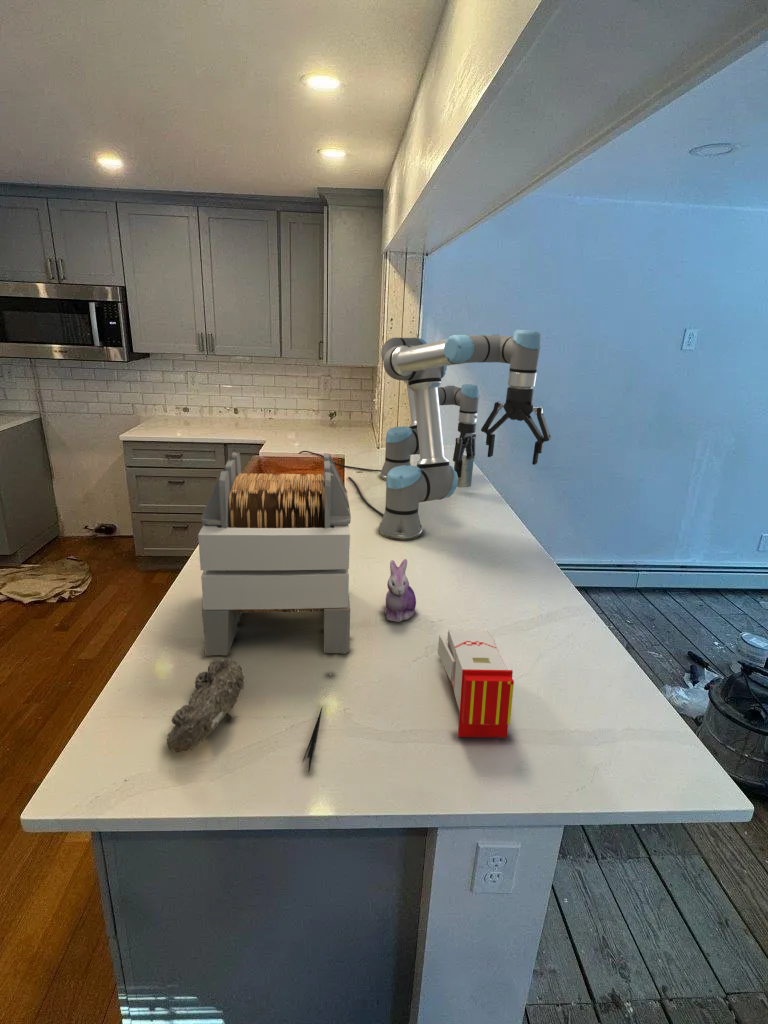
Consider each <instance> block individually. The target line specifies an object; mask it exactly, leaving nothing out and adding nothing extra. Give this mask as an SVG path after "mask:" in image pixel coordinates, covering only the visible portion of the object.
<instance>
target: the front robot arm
mask: <svg viewBox="0 0 768 1024" xmlns="http://www.w3.org/2000/svg"><path fill="white" fill-rule="evenodd" d="M541 340H542V334H541V332H540V331H539V330H530V329H515V330H514V331H513V335H512V336H509V335H501V334H483V335H482V334H478V335H477V334H464V333H463V334H462V333H461V334H453V335H450V336H449V337H448V338H446V339H440V340H437V341H433V342H428V343H427V344H423V345H419V346H396V347H393V348H391V349H390V350H388V352H387V353H386V354H385V356H384V360H382V361H383V362H382V363H383V365H382V366H383V369H384V371H385V373H386V374H387V375H388V376H389V377H390V378H392V379H393V380H396V381H403V382H404V381H407V380H408V385H409V388H410V389H412V390H413V392H414V401H415V411H416V421H417V431H418V440H419V450H420V454H419V460H418V462H417V463H416V465H412V464H411V465H408V466H406V465H403V466H398V467H395V468H392V469H391V470H390V471H389V472H388V474H387V480H385V504H384V505H385V507H384V508H385V509H384V513H382V512H381V511H380V510H378V509H377V508H375V507H374V506H373V505H371V504H370V503H369V502H368V501H367V500H366V499H365V497H364V496H363V494H362V492H361V491H360V489H359V486H358V485H357V483H356V482H355V481H354V480H353V478H352V477H350V476H348V479H349V480H350V481H351V482H352V483H353V485H354V486H355V488H356V490H357V492H358V494H359V496H360V498H361V500H363V502H364V503H365V504H366V505H367V506H368V507H369V508H371V509H372V510H373V511H375V512H376V513H377V514H379V515H380V516H381V517H382V519H381V522H379V525H378V533H379V534H380V535H381V536H382V537H385V538H387V539H389V540H395V541H410V540H415V539H418V538H420V537H421V536H422V535H423V525H422V524H421V518H420V515H419V507H420V506H419V505H420V503H426V502H432V501H437V500H439V501H441V500H444V499H446V498H450V497H451V496H453V495H454V493H455V492H456V490H457V488H458V487H457V484H458V476H457V472H456V471H455V469H454V466H452V465H451V464H450V460H449V459H448V457H445V448H444V439H443V431H442V430H443V427H442V418H441V407H440V405H439V397H438V387H441V385H442V379H443V378H444V377H445V375H446V372H447V369H448V366H455V365H462V364H463V365H464V364H468V363H469V364H470V363H472V364H473V363H478V364H479V363H500V364H509V371H508V379H507V385H508V387H507V389H506V396H505V397H506V398H505V403H504V402H501V401H500V400H498V401H495V402H494V403H493V408H492V410H491V412H490V414H489V416H488V417H487V419H486V420H485V422H484V423H483V425H482V427H481V429H480V432H482V433H484V434H485V435H486V436H485V437H486V438H485V445H486V446H487V447H488V448H487V458H492V457H493V456H494V450H495V439H496V434H495V433H494V432H495V431H496V430H498V429H499V428H500V427H501V426H502V425H503V424H504V423H505V422H506V421H507V420H508V419H509V420H511V421H519V422H522V421H524V423H525V424H527V426H528V428H529V429H530V431H531V432H532V434H533V436H534V438H535V439H536V441H535V442H534V448H533V455H532V463H531V465H533V466H536V465H537V464H538V459H539V454H542V452H543V451H544V445H545V442H549V441H551V439H552V436H551V434H550V433H551V432H550V431H549V430H550V429H549V427H548V424H547V422H546V421H547V420H546V418H545V415H544V406H542V405H540V406H534V405H533V404H534V396H535V395H534V394H535V389H534V387H535V386H536V380H537V373H538V364H539V356H540V351H541V347H542V346H541ZM501 410H504V411H505V413H504V414H503V415H502V416H501V417H500V418H499V419H498V420H497V421H496V422H495V423H494V424H493V425H492V423H493V422H494V420H495V418H496V417H497V415H498V414H499V412H500V411H501ZM533 412H534V415H535V416H536V418H537V421H538V424H539V427H540V429H539V428H538V426H537V424H536V423H535V421H534V419H533V417H532V416H531V414H532V413H533ZM491 425H492V426H491ZM540 430H541V431H540Z"/></svg>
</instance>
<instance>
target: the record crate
mask: <svg viewBox="0 0 768 1024" xmlns="http://www.w3.org/2000/svg"><path fill="white" fill-rule="evenodd" d="M323 456H324V458H323V473H322V474H321V473H318V474H316V475H315V474H314V473H306V474H303V475H302V474H301V473H280V474H273V473H244V472H243V473H242V466H241V463H242V462H241V453H240V452H235V451H233V452H231V455H230V457H229V459H227V460H226V463H225V466H224V468H223V470H222V471H220V474H219V475H218V477H217V479H216V482H215V483H214V486H213V489H212V491H211V494H210V495H209V498H208V499H207V502H206V505H205V507H204V509H203V511H202V514H201V517H200V520H201V524H202V527H201V529H200V530H199V532H198V535H197V538H198V550H199V552H198V553H199V563H200V565H199V567H200V571H202V573H201V575H200V580H201V581H200V582H201V594H202V605H203V607H202V609H201V610H202V611H201V617H202V629H203V638H204V639H203V640H204V649H205V650H204V651H205V652H204V655H205V656H206V657H212V656H228V654H229V652H230V650H231V647H232V645H233V643H234V640H235V638H236V635H237V632H238V623H240V620H241V617H242V614H244V613H250V614H251V613H253V614H254V613H257V614H258V613H298V612H301V613H302V612H308V613H309V612H322V614H323V654H344V655H346V654H347V653H349V652H350V639H351V604H350V595H349V594H350V593H349V586H350V585H349V584H350V572H349V571H350V570H349V569H350V549H351V548H350V547H351V545H350V542H351V533H350V532H351V531H350V526H349V525H350V524H351V520H352V516H351V515H352V514H351V509H350V502H349V496H348V490H347V488H346V486H345V484H344V482H343V480H342V478H341V474H340V473H339V471H338V469H337V465H336V464H334V462H335V461H334V460H333V458H332V455H331V454H330V453H326V452H324V453H323Z"/></svg>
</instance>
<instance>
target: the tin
mask: <svg viewBox="0 0 768 1024" xmlns="http://www.w3.org/2000/svg"><path fill="white" fill-rule="evenodd" d="M474 459H475V458H473V457H471V456H467V454H463V457H462V460H461V462H462V470H461V478H459V477H458V484H457V488H462V489H465V488H466V489H467V488H471V487H472V482H473V470H474V463H475V462H474V461H475V460H474ZM455 463H456V462H453V468H454V469H455Z"/></svg>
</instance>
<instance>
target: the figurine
mask: <svg viewBox="0 0 768 1024" xmlns="http://www.w3.org/2000/svg"><path fill="white" fill-rule="evenodd" d="M407 567H408V559H406V558H404V559H403V560H402V561H401V563H400V565H399V566H398V565H397V563H396V562H395V561H394V560H393V559H391V560H390V561H389V570H390V576H389V578H388V579H387V589H388V591H387V592H386V594H385V595H386V596H385V607H384V615H385V616H386V620H387V621H391V622H395V623H400V622H402V621H406V620H409V619H410V618H411V617H413V616H414V615H415V610H416V606H417V597H416V593H415V591H414V590H413V587H411V586H410V582H409V579H408V577H407V574H406V571H407Z"/></svg>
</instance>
